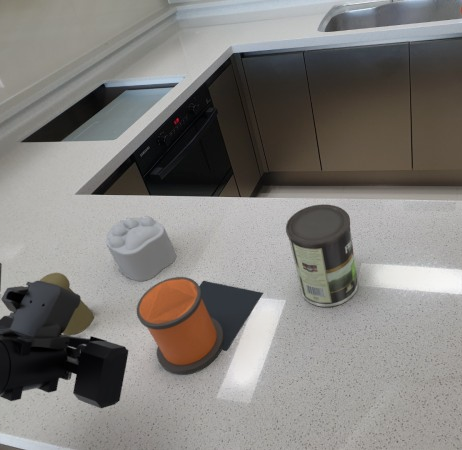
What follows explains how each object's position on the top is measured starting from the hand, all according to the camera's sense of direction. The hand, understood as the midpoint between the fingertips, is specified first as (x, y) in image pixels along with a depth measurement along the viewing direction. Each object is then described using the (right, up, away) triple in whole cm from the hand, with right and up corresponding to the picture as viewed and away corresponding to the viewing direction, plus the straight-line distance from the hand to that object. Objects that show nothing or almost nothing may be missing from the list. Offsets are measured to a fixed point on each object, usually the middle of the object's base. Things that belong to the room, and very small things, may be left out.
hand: (112, 348), depth 60 cm
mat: (+9, +1, +21) cm, 23 cm away
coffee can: (+30, +5, +22) cm, 37 cm away
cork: (-17, -2, +25) cm, 30 cm away
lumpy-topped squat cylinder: (-8, +9, +37) cm, 39 cm away
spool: (+7, -4, +16) cm, 18 cm away
